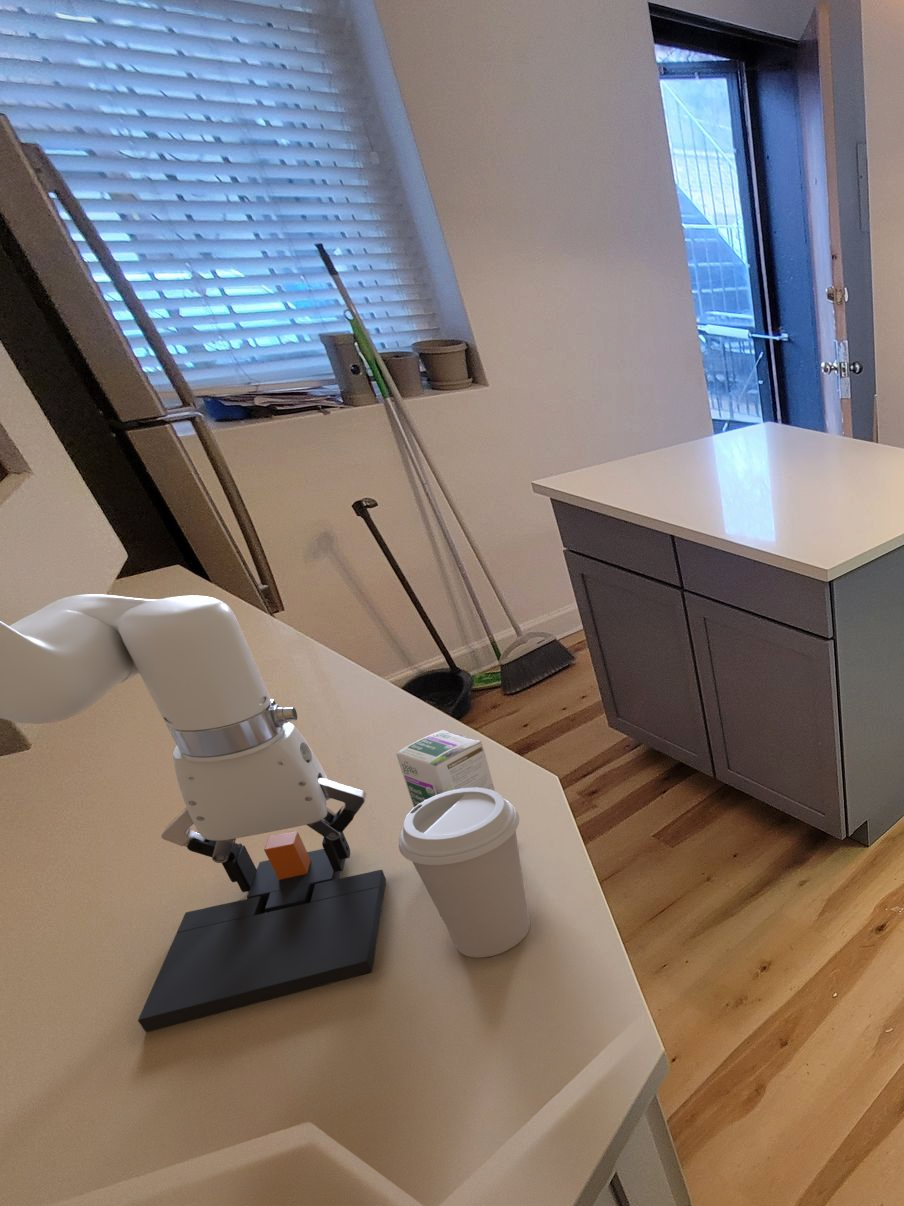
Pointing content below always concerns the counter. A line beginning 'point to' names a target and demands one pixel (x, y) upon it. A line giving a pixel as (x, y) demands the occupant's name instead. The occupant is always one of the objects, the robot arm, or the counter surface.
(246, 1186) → the counter surface
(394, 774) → the counter surface
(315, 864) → the pad
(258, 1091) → the counter surface
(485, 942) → the coffee cup
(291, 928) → the notch pad
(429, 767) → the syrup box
